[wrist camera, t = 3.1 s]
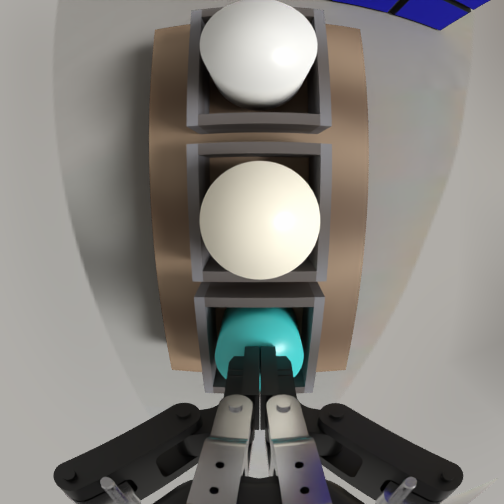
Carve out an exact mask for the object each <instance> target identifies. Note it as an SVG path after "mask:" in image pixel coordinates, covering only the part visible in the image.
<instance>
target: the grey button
mask: <svg viewBox="0 0 504 504" xmlns="http://www.w3.org/2000/svg"><path fill="white" fill-rule="evenodd" d="M200 52H201V56H202V59H203V62H204V63H205V65H206V67H207V69H208V71H209V73H210V75H211V77H212V79H213V81H214V83H215V85H216V86H217V88H218V90H219V92H220V93H221V94H222V95H223V96H224V97H225V98H226V99H227V100H228V101H230V102H231V103H233V104H234V105H236V106H239V107H241V108H245V109H249V110H258V111H259V110H269V109H273V108H277V107H279V106H281V105H283V104H285V103H287V102H288V101H289V100H291V99H292V98H293V97H294V96H295V95H296V93H297V92H298V91H299V89H300V87H301V85H302V83H303V81H304V79H305V78H306V76H307V74H308V72H309V70H310V68H311V66H312V64H313V63H314V60H315V58H316V54H317V38H316V34H315V31H314V29H313V27H312V25H311V24H310V23H309V21H308V20H307V19H306V18H305V17H304V16H303V15H302V14H301V13H300V12H299V11H297V10H296V9H294V8H293V7H291V6H289V5H287V4H284V3H281V2H278V1H275V0H242V1H238V2H235V3H232V4H230V5H228V6H226V7H224V8H222V9H221V10H219V11H218V12H217V13H215V14H214V15H213V16H212V17H211V18H210V19H209V21H208V22H207V23H206V25H205V27H204V29H203V31H202V34H201V37H200Z"/></svg>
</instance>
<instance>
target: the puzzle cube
mask: <svg viewBox="0 0 504 504" xmlns="http://www.w3.org/2000/svg"><path fill="white" fill-rule="evenodd" d="M331 1H337V2H343V3H348V4H354V5H358V6H363V7H367V8H372V9H376V10H380V11H383V12H389V11H391V12H392V13H393V14H394V15H397V16H401V17H404V18H407V19H410V20H413V21H416V22H419V23H422V24H424V25H427V26H430V27H432V28H435V29H437V30H442V29H443V28H445V27H447V26H448V25H450V24H451V23H453V22H455V21H456V20H458V19H460V18H461V17H463V16H465V15H466V14H468V13H470V12H471V9H473V10H474V9H476V8H477V7H479V6H481V5H483V4H485V3H486V2H488V1H490V0H331ZM470 8H471V9H470Z"/></svg>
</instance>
